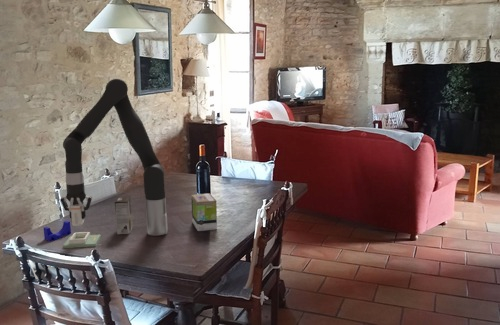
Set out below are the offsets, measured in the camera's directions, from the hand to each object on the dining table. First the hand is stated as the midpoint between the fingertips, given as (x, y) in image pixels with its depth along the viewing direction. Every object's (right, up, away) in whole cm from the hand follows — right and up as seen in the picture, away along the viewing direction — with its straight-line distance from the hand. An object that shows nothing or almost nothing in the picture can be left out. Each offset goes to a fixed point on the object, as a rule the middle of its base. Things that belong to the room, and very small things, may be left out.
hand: (77, 218), depth 220 cm
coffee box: (+17, -8, +17) cm, 25 cm away
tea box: (+55, -6, +22) cm, 60 cm away
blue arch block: (-13, -10, +10) cm, 19 cm away
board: (+1, -11, +2) cm, 11 cm away
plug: (0, -2, 0) cm, 2 cm away
